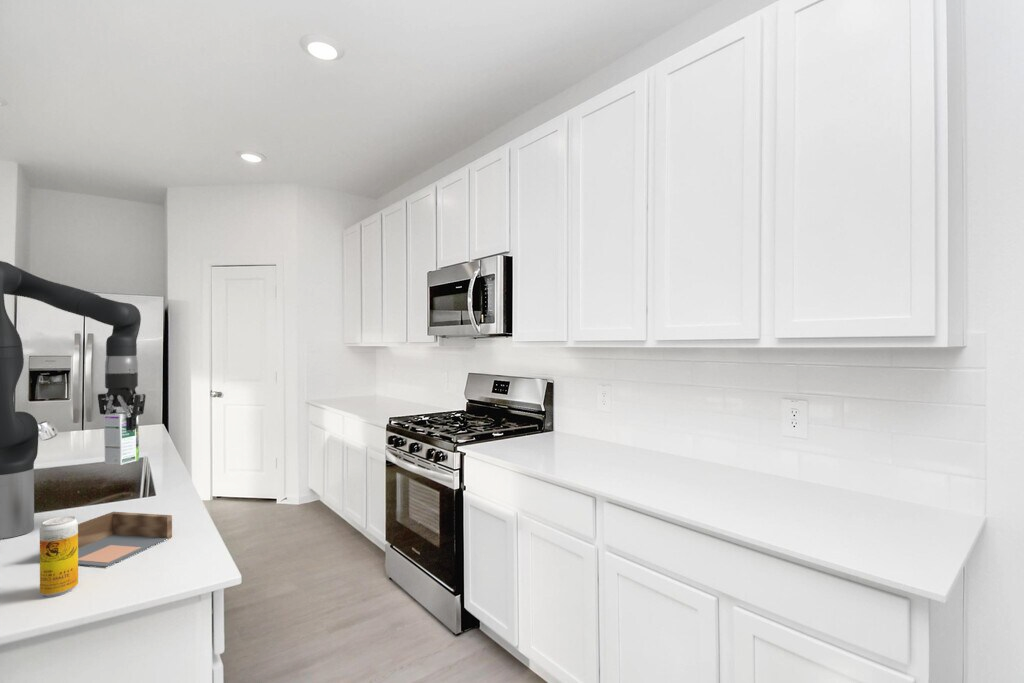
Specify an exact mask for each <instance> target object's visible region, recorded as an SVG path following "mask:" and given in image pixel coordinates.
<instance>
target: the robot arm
mask: <svg viewBox="0 0 1024 683" xmlns="http://www.w3.org/2000/svg"><path fill="white" fill-rule="evenodd" d="M5 295H11V296H15V297H16V296H18V297H22V298H28V299H32V300H37V301H38V302H42V303H44V304H47V305H49V306H52V307H54V308H55V309H58V310H61V311H64V312H67V313H71V314H73V315H77V316H81V317H86V318H89V319H92V320H94V321H97V322H98V323H102V324H105V325H107V326H108V325H109V326H112V333H111V334H110V336H108V337H107V339H106V342H105V345H106V346H105V362H104V363H105V364H104V387H105V389H107V392H105V393H98V394H97V403H98V407H99V408H98V410H99V414H100V415H103V416H104V415H105V414H112V413H118V411H119V410H120V409H121V408H122V410H123V412H126V414H127V417H129V418H127V430H128V431H131V430H135V429H136V426H137V423H136V422H137V416H138V417H139V416H141V415H144V412H145V404H146V394H145V393H142V394H141V393H140V394H139V393H137V391H136V388H137V387H138V385H139V379H138V378H139V377H138V376H139V374H138V373H139V371H138V370H139V367H138V366H139V364H138V356H137V352H138V351H137V350H138V348H137V346H138V343H137V339H138V337H139V333H140V328H141V321H142V317H141V311H140V310H139V309H138V307H137V306H136V305H134V304H132V303H128V302H121V301H117V300H114V299H109V298H106V297H102V296H100V295H99V294H96V293H93V292H90V291H87V290H83V289H81V288H78V287H77V288H76V287H74V286H70V285H66V284H63V283H59V282H54V281H51V280H48V279H44V278H42V277H39V276H37V275H34V274H32V273H30V272H28V271H26V270H24V269H23V268H20V267H17V266H15V265H13V264H11V263H9V262H7V261H2V260H0V540H2V539H3V538H4V539H10V538H15V537H18V536H22V535H25V534H29V533H30V532H32V531H34V529H35V476H34V475H35V470H34V469H35V468H34V466H35V461H36V458H37V456H38V453H39V452H38V451H39V436H40V435H39V434H40V433H39V424H38V421H37V419H36V418H35V416H34V415H33V414H31V413H29V412H26V411H16V410H15V403H14V401H15V400H14V399H15V391H16V387H17V385H18V382H19V379H20V377H21V374H22V372H23V369H24V363H25V362H24V359H25V358H24V350H23V343H22V338H21V336H20V334H19V332H18V330H17V329H16V327H15V325H14V324H13V322H12V320H11V319H10V317H9V315H8V312H7V309H6V305H5ZM131 411H132V413H131ZM4 539H3V540H4Z"/></svg>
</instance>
